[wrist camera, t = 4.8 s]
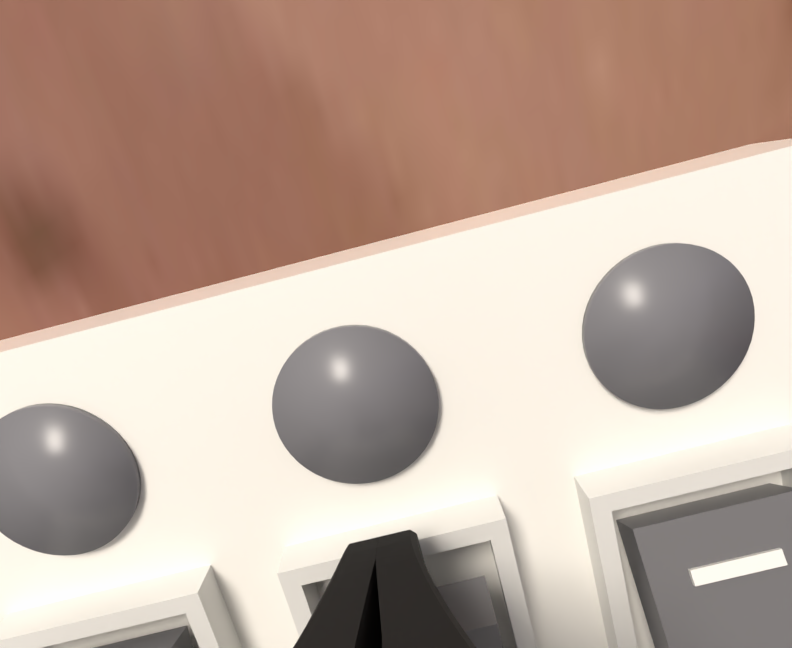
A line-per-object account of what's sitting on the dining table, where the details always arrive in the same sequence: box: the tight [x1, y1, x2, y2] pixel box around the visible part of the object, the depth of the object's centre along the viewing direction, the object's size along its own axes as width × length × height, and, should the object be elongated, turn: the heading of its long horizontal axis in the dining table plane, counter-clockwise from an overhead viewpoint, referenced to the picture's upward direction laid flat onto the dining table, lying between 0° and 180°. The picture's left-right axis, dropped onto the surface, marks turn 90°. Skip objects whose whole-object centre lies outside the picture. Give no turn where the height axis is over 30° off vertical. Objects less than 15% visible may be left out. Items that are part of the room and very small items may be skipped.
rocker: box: [616, 483, 792, 648], centre depth 11 cm, size 3×5×1 cm, turn 15°
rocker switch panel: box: [0, 139, 792, 648], centre depth 13 cm, size 21×13×4 cm, turn 104°
